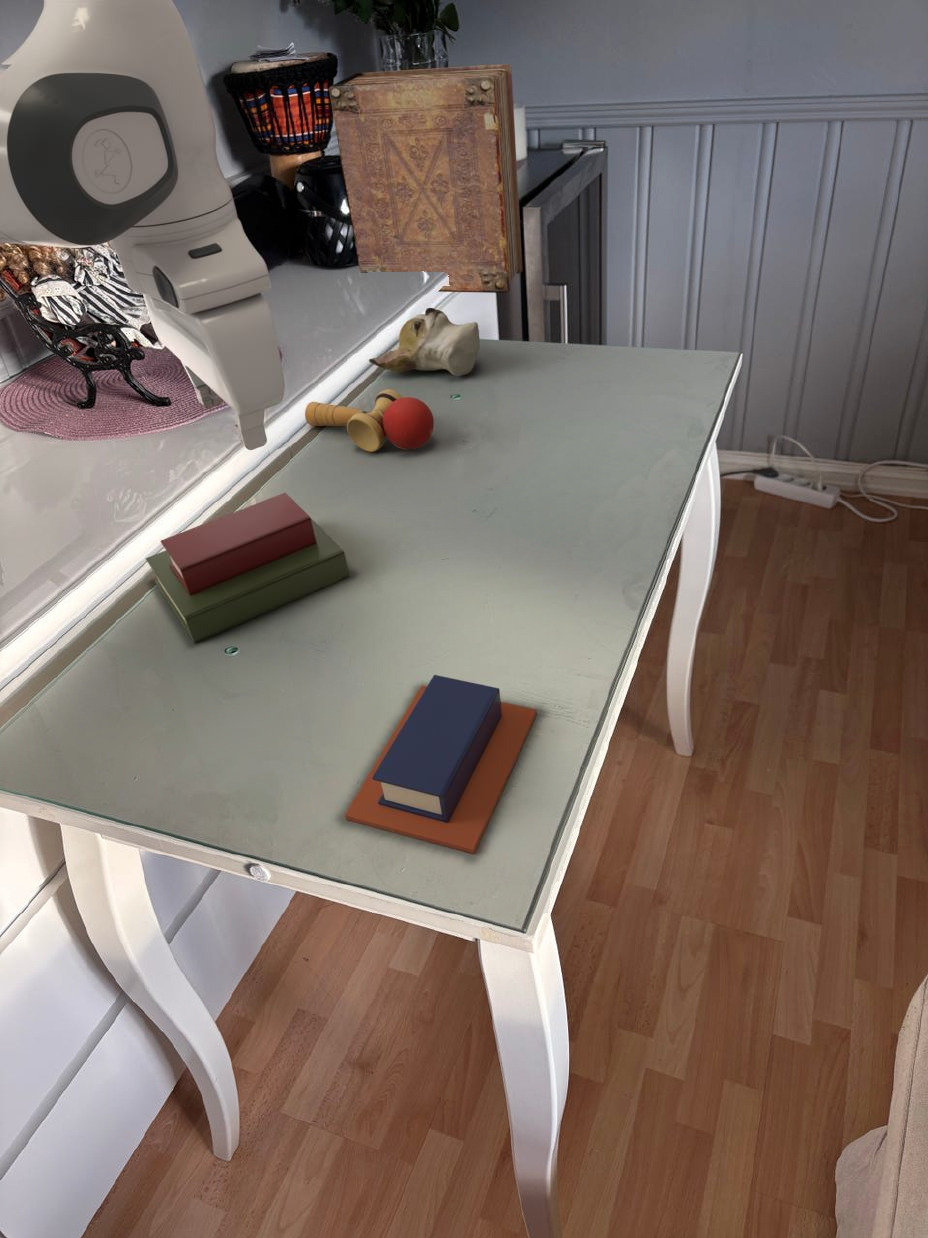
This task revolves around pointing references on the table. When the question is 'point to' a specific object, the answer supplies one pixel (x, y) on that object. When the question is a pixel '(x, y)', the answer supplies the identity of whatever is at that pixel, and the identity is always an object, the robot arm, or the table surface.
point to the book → (432, 173)
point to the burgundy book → (239, 542)
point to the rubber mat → (475, 798)
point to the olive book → (251, 587)
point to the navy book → (439, 748)
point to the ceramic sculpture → (433, 345)
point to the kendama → (379, 421)
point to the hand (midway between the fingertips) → (232, 423)
